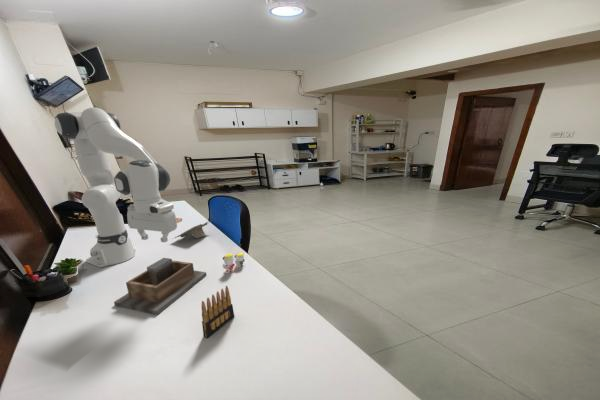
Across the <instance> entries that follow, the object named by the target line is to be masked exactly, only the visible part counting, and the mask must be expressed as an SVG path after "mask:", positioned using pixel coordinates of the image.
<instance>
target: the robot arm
mask: <svg viewBox="0 0 600 400" xmlns="http://www.w3.org/2000/svg"><path fill="white" fill-rule="evenodd" d="M54 128H55V130H56V131H57V132H58V134H59V136H61V137H63V138H64V139H67V140H68V139H69V140H73V146H74V152H75V156H76V159H77V162H78V165H79V170H80V173H81V174H82V175H83V176H84V177H85V179H86V181H87V182H88V184H89V186H90V187H88V188H87V189H86V190H85V191H84V192H83V194H82V196H81V203H82V205H83V206H84V207H85V208H87V209H88V211H89V213H90V214H91V216H92V218H93V221H94V223H95V227H96V231H97V235H95V239H97V241H96V243H95V244H94V245H93V246H92V247H91V248H90V250H89V257H87V258H86V259H85V263H88V264H91V265H93V266H95V267H97V268H104V267H107V266H113V265H118V264H121V263H124V262H126V261H129V260H131V259H133V257H135V255H136V254H135V253H136V252H137V251H136V248H134V246H133V244H132V240H131V239H130V237H129V233H128V231H127V229H126V227H125V222H124V217H123V214H122V213H120V210H119V208H118V206H117V204H116V203H117V201H118V200H119V199H120V198H121V195H124V196H132V202H133V204H132V203H131V204H129V205H128V206H127V212H126V213H127V214H126V217H127V218H126V219H127V225H128V227H129V229H134V230H137V232H138V235H139V236H140V238H141V240H143V241H146V240H148V239H149V234H147V233H146V231H153V232H160V233H161V235H162V237H160V238H159V239H160V242H161V243H166V242H168V240H169V239H168V236H169V234H170V233H171V232H173V231H175V230H176V229H177V227H178V223H177V222H176V218H177V217H176V213H175V211H174V207H175V206H174V203H172V202H169V201H167V200H165V199H163V198H162V196H161V193H160V192H164V191H165V190H167V188H168V186H169V185H170V182H171V176H170V174H169V172H168V171H167V170H166V169H165V168H164V167H163V166H161V165H160V164H159V163H158V162H157V160H155V158H154V157H153V156H152V155H151V154H150V153H149V152H148V151H147V149H146V148H145V147H144V146H143V144H141V143H140V142H139V141H138V140H136V139H134V138H132V137H130V136H129V135H127V134H126V133H125V132H123V131H122V130H121V123H120V120H119V119H118V117H117V116H116V115H115V114H114V113H110V112H107V111H105V110H104V109H102V108H99V107H88V108H86V109H84V110H82V111H79V112H77V111H76V112H67V111H66V112H60V113H57V114H56V115H55V118H54ZM108 154H112V155H113V154H114V155H118V156H119V155H120V156H125V157H129V158H132V159H133V160H132V161H130V162H128V164H127V167H126V168H125V169H123V170H120V171H118V172H117V173H116V174H115V175H114V173H113V171H112V168H111V164H110V160H109V158H108V157H109V156H108Z"/></svg>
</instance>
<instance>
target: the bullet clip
mask: <svg viewBox="0 0 600 400" xmlns="http://www.w3.org/2000/svg"><path fill="white" fill-rule="evenodd" d="M230 294H231V293H230V289H229V286H228V285H225V288H221V289H220V293H219V291H218V290H217V291H216V297H215V294H213V293H212V294H211V299H210V297H206V303H205V301H204V300H201V317H202V318H201V319H202V321H201V323H202V324H201V325H202V333H203V337H205V338H206V339H209V338H210V337H211V336H212V335H214V334H215V333H217V332H218V331H219V330H220V329H221V328H222V327H224V326H225V325H226V324H228V323H229V322H230V321H232V320H233V319H235V311H234V306H233V304H232V299H231V295H230Z"/></svg>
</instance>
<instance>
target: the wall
mask: <svg viewBox="0 0 600 400" xmlns="http://www.w3.org/2000/svg"><path fill="white" fill-rule="evenodd" d="M210 222H212V220H209V221H207V222H205V223H203V224H198V225H194V226H193V227H191V228H190V229H188V230H185V231H184V232H182V233H181V234H179V235H177V236H175V237H174V238H172V240H174V239H176V238H178V237H180V238H184V237H185V238H186V237H187V236H189V235H192V236H193V237H195V239H200V238H201V237H203V236H205V235H206V234H205V231H204V229H203V228H204V227H205V226H207V225H208V224H209V223H210Z"/></svg>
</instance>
